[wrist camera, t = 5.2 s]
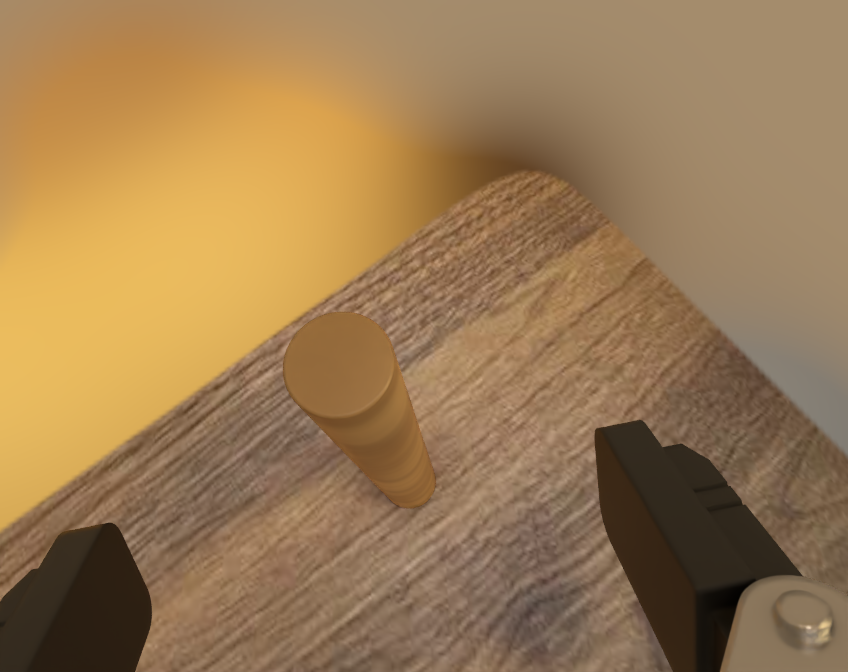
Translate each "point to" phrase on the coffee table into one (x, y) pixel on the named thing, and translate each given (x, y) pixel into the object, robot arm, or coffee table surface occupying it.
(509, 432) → the coffee table surface
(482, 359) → the coffee table surface
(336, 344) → the stick
